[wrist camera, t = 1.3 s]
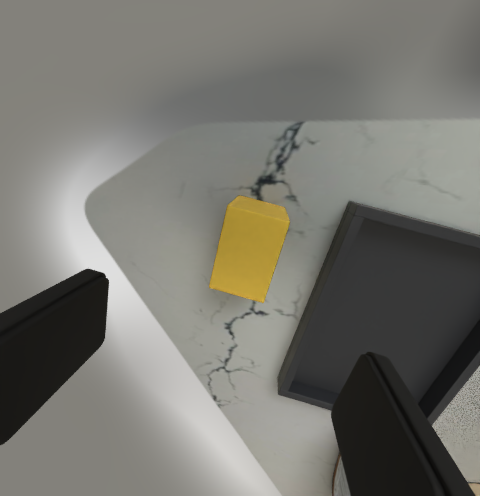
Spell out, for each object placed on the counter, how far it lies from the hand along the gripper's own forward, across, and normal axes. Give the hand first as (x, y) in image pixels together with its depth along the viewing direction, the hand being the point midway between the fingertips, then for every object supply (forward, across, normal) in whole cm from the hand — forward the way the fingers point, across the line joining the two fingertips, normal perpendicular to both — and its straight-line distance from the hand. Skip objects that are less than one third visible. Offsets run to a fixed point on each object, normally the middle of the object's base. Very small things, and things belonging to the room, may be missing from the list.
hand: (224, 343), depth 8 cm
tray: (+13, -14, +4) cm, 20 cm away
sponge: (+13, 0, -1) cm, 13 cm away
